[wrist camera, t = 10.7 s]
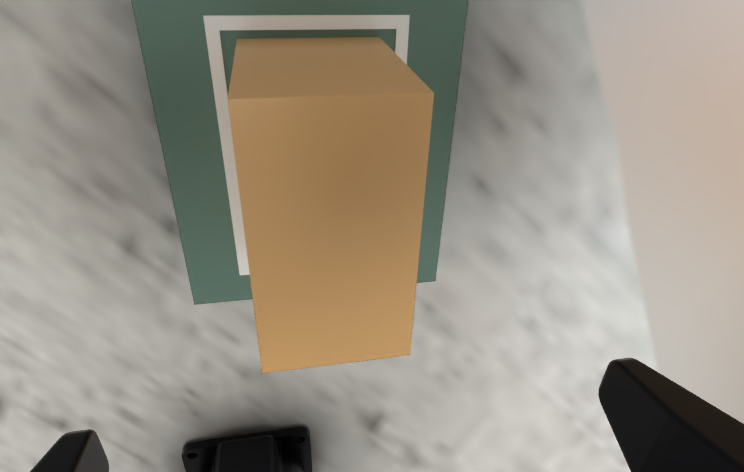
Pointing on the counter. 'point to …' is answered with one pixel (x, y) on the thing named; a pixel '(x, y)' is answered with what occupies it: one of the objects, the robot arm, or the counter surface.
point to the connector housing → (330, 195)
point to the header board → (212, 120)
